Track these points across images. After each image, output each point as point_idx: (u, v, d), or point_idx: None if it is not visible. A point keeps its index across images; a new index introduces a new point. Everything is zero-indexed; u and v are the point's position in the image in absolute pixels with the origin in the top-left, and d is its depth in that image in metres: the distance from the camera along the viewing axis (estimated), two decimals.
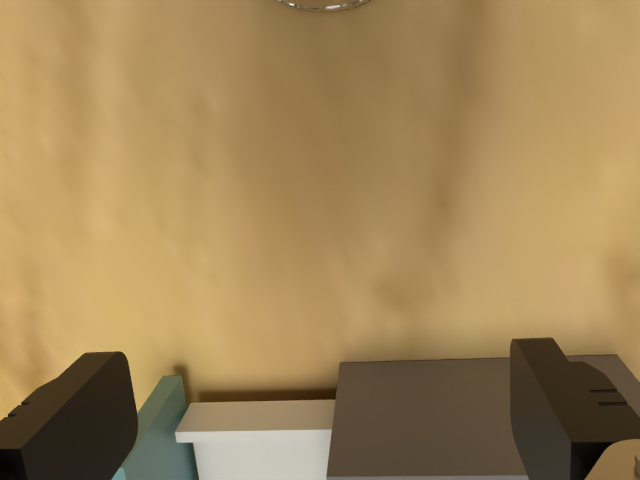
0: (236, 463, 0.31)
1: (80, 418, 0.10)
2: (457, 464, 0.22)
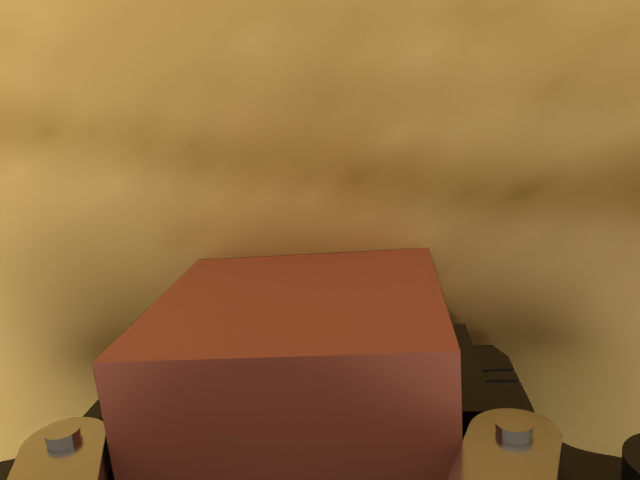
0: None
1: None
2: None
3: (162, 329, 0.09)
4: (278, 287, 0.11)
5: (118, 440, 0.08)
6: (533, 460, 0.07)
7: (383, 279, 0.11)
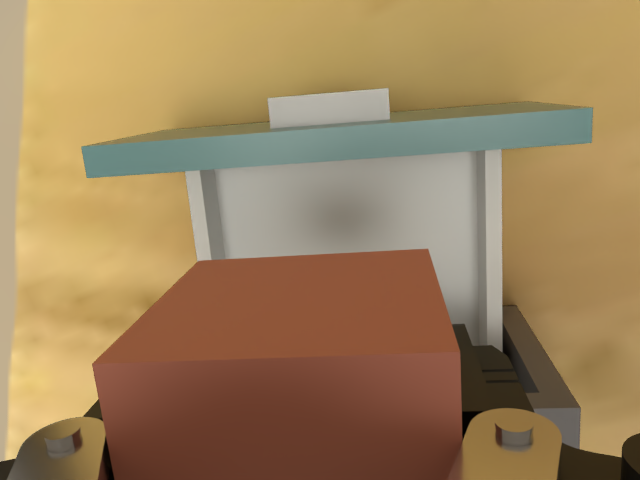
0: (409, 196, 0.24)
1: None
2: None
3: (161, 329, 0.09)
4: (278, 288, 0.11)
5: (118, 441, 0.08)
6: (533, 460, 0.07)
7: (383, 280, 0.11)
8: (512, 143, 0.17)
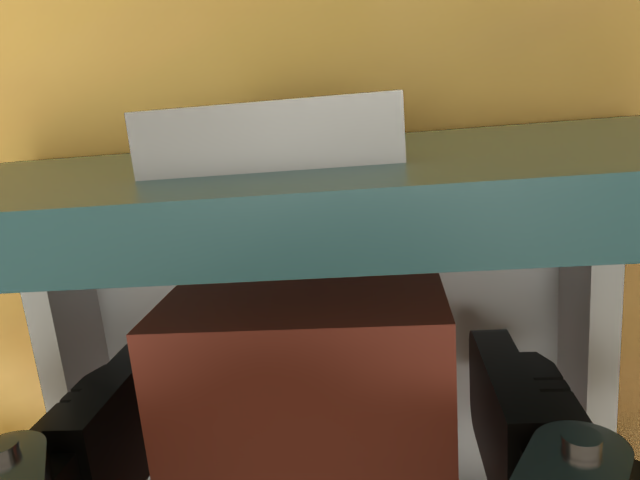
0: None
1: (130, 403, 0.11)
2: None
3: (186, 307, 0.10)
4: None
5: (148, 405, 0.09)
6: (607, 477, 0.07)
7: None
8: None
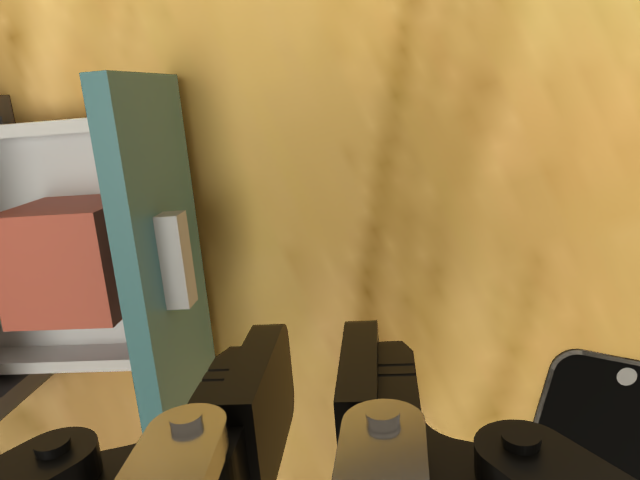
0: None
1: (272, 382, 0.11)
2: None
3: None
4: None
5: (65, 218, 0.24)
6: (390, 445, 0.08)
7: None
8: (141, 409, 0.24)
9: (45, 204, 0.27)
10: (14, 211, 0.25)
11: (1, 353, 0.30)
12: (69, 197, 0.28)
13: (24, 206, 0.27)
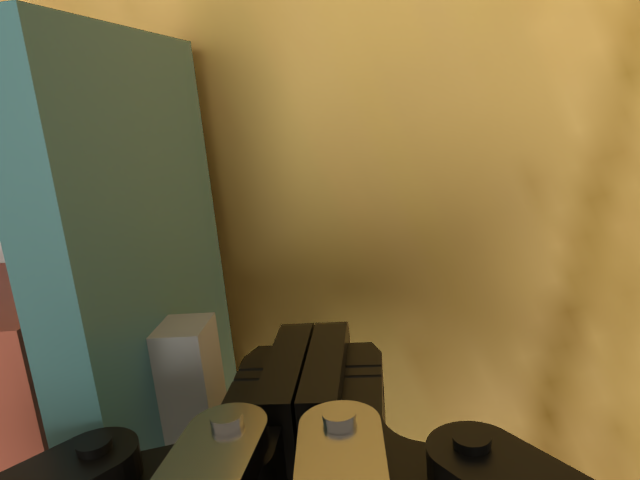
0: None
1: None
2: None
3: None
4: None
5: None
6: (343, 447, 0.08)
7: None
8: None
9: None
10: None
11: None
12: None
13: None
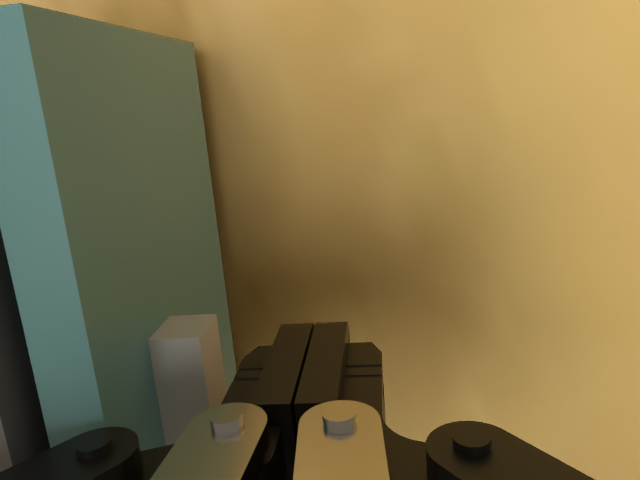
0: None
1: None
2: None
3: None
4: None
5: None
6: (343, 447, 0.08)
7: None
8: None
9: None
10: None
11: None
12: None
13: None
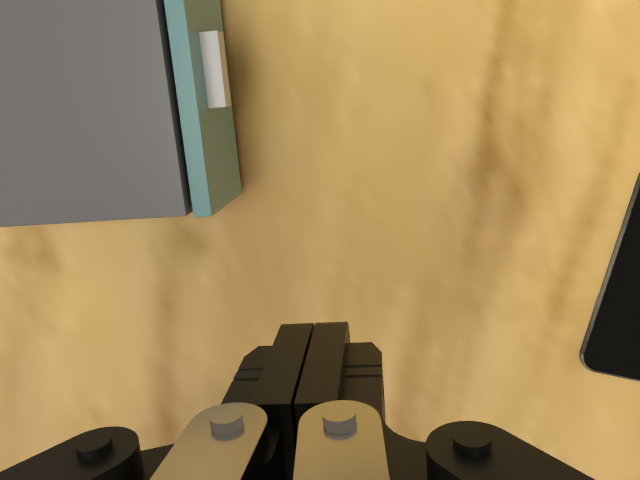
0: None
1: None
2: None
3: None
4: None
5: None
6: (343, 446, 0.08)
7: None
8: (190, 177, 0.31)
9: None
10: None
11: None
12: None
13: None
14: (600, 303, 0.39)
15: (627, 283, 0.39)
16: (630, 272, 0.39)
